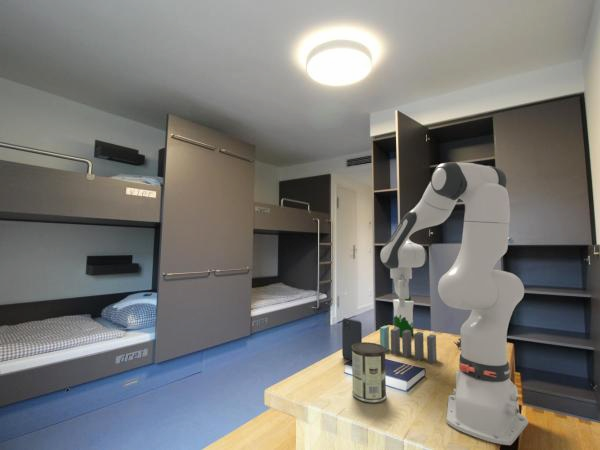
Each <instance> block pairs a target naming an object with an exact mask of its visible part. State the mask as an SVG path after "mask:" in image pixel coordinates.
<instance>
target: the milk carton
mask: <svg viewBox="0 0 600 450" xmlns="http://www.w3.org/2000/svg"><path fill="white" fill-rule="evenodd" d="M392 304H393V325H394V326H393V328H400V338H402V332H403V331H405V330H411V338H412V337H413V338H414V334H415V333H414V316H413V315H414V314H413V313H414V312H413V311H414V300H412V298H411V296H410V295H409V299H405V307H404V308H402V307H400V304H399V298H397V299H392Z"/></svg>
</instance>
